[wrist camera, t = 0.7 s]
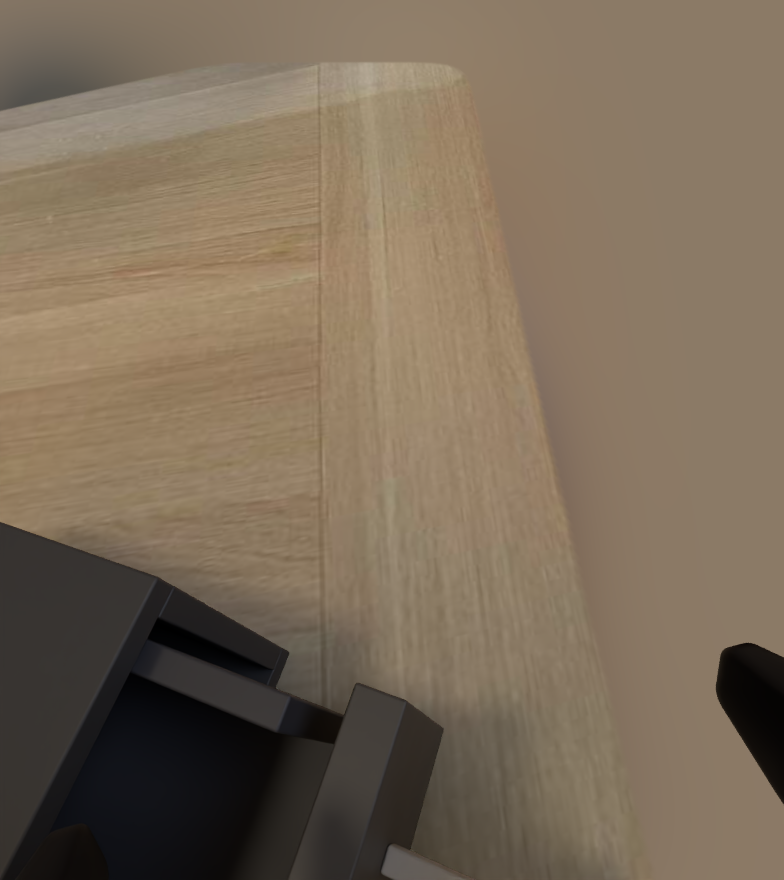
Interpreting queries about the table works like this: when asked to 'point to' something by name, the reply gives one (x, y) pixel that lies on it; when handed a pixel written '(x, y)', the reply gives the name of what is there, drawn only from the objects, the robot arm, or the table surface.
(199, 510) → the table surface
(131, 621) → the cabinet casing
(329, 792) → the drawer
